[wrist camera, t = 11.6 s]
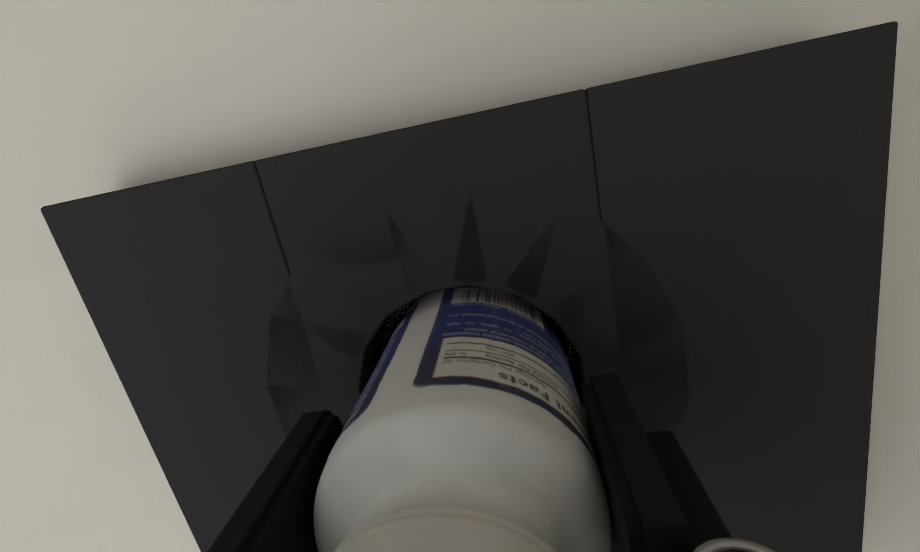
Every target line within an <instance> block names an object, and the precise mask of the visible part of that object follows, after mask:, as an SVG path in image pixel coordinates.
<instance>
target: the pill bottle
mask: <svg viewBox="0 0 920 552" xmlns="http://www.w3.org/2000/svg"><path fill="white" fill-rule="evenodd" d="M313 519H314V532H315V539H316V544H317V548H318V552H610V548H611V517H610V511H609V505H608V500H607V495H606V491H605V487H604V482H603V478H602V475H601V473H600V471H599V467H598V462H597V459H596V456H595V452H594V449H593V446H592V442H591V439H590V435H589V432H588V428H587V425H586V422H585V418H584V415H583V411H582V408H581V405H580V401H579V398H578V395H577V391H576V388H575V385H574V381H573V377H572V374H571V371H570V368H569V364H568V361H567V357H566V353H565V350H564V347H563V344H562V341H561V338H560V335H559V333H558V330H557V328H556V326H555V324H554V322H553V320H552V319H551V317H550V316H548V315H547V314H545V313H544V312H542V311H541V310H539V309H538V308H536V307H535V306H533V305H532V304H530V303H529V302H527V301H526V300H524V299H523V298H521V297H520V296H518V295H514V294H509V293H504V292H500V291H495V290H490V289H485V288H481V287H476V286H471V285H468V286H462V287H456V288H450V289H443V290H437V291H431V292H427V293H425V294H424V295H423V296H422V297H420V298H419V299H418V300H417V301H416V302H415V303H414V304H413V305H412V306H411V307H410V308H409V309H408V310H407V312H406V313H405V315H404V316H403V318H402V319H401V321H400V322H399V324H398V326H397V327H396V329H395V330H394V332H393V334H392V336H391V338H390V341H389V343H388V345H387V347H386V348H385V350H384V352H383V354H382V356H381V358H380V360H379V362H378V364H377V366H376V368H375V370H374V371H373V373H372V375H371V377H370V379H369V381H368V383H367V385H366V386H365V388H364V390H363V392H362V394H361V396H360V398H359V400H358V401H357V403H356V406H355V408H354V409H353V411H352V413H351V415H350V417H349V419H348V420H347V422H346V424H345V426H344V428H343V430H342V432H341V434H340V436H339V437H338V439H337V441H336V443H335V445H334V447H333V448H332V450H331V452H330V454H329V456H328V459H327V462H326V465H325V467H324V470H323V472H322V474H321V477H320V480H319V484H318V487H317V491H316V497H315V503H314V518H313Z"/></svg>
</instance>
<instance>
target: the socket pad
mask: <svg viewBox="0 0 920 552" xmlns="http://www.w3.org/2000/svg"><path fill="white" fill-rule="evenodd" d="M897 28H898V23H897V22H889V23H884V24H880V25H875V26H871V27H866V28H861V29H857V30H852V31H848V32H843V33H838V34H834V35H829V36H825V37H820V38H815V39H811V40H806V41H802V42H797V43H793V44H788V45H783V46H779V47H774V48H770V49H765V50H760V51H756V52H751V53H747V54H742V55H737V56H733V57H728V58H724V59H719V60H714V61H710V62H705V63H701V64H696V65H691V66H687V67H682V68H678V69H673V70H669V71H664V72H659V73H655V74H650V75H646V76H641V77H636V78H632V79H627V80H623V81H618V82H613V83H609V84H604V85H600V86H595V87H590V88H587V89H585V90H583V89H581V90H577V91H572V92H568V93H563V94H558V95H554V96H549V97H545V98H540V99H536V100H531V101H526V102H522V103H517V104H513V105H508V106H503V107H499V108H494V109H490V110H485V111H480V112H476V113H471V114H467V115H462V116H457V117H453V118H448V119H444V120H439V121H434V122H430V123H425V124H421V125H416V126H412V127H407V128H402V129H398V130H393V131H389V132H384V133H379V134H375V135H370V136H366V137H361V138H356V139H352V140H347V141H343V142H338V143H333V144H329V145H324V146H320V147H315V148H310V149H306V150H301V151H297V152H292V153H287V154H283V155H278V156H274V157H269V158H265V159H260V160H257V161H251V162H246V163H242V164H237V165H232V166H228V167H223V168H219V169H214V170H209V171H205V172H200V173H196V174H191V175H187V176H182V177H177V178H173V179H168V180H164V181H159V182H154V183H150V184H145V185H141V186H136V187H131V188H127V189H122V190H118V191H113V192H108V193H104V194H99V195H95V196H90V197H85V198H81V199H76V200H72V201H67V202H62V203H58V204H53V205H49V206H44V207H43V208H41V212H42V214H43V216H44V218H45V220H46V222H47V225H48V227H49V229H50V231H51V233H52V235H53V237H54V239H55V242H56V244H57V246H58V248H59V250H60V252H61V254H62V256H63V259H64V261H65V263H66V265H67V267H68V269H69V271H70V274H71V276H72V278H73V280H74V282H75V284H76V286H77V288H78V291H79V293H80V295H81V297H82V299H83V301H84V303H85V305H86V308H87V310H88V312H89V314H90V316H91V318H92V320H93V323H94V325H95V327H96V329H97V331H98V333H99V335H100V337H101V340H102V342H103V344H104V346H105V348H106V350H107V352H108V355H109V357H110V359H111V361H112V363H113V365H114V367H115V369H116V372H117V374H118V376H119V378H120V380H121V382H122V384H123V386H124V389H125V391H126V393H127V395H128V397H129V399H130V401H131V404H132V406H133V408H134V410H135V412H136V414H137V416H138V418H139V421H140V423H141V425H142V427H143V429H144V431H145V433H146V436H147V438H148V440H149V442H150V444H151V446H152V448H153V450H154V453H155V455H156V457H157V459H158V461H159V463H160V465H161V467H162V470H163V472H164V474H165V476H166V478H167V480H168V482H169V485H170V487H171V489H172V491H173V493H174V495H175V497H176V499H177V502H178V504H179V506H180V508H181V510H182V512H183V514H184V516H185V519H186V521H187V523H188V525H189V527H190V529H191V531H192V534H193V536H194V538H195V540H196V542H197V544H198V546H199V548H200V551H201V552H207V551H208V550H209V548H210V547H211V545H212V544H213V542H214V541H215V540H216V538H217V537H218V535H219V534H220V532H221V531H222V529H223V528H224V527H225V525H226V524H227V522H228V521H229V519H230V518H231V517H232V515H233V514H234V512H235V511H236V509H237V508H238V506H239V505H240V504H241V502H242V501H243V499H244V498H245V496H246V495H247V494H248V492H249V491H250V489H251V488H252V486H253V485H254V483H255V482H256V481H257V479H258V478H259V476H260V475H261V473H262V472H263V471H264V469H265V468H266V466H267V465H268V463H269V462H270V460H271V459H272V458H273V456H274V455H275V453H276V452H277V450H278V449H279V448H280V446H281V445H282V443H283V442H284V440H285V439H286V437H287V436H288V435H289V433H290V432H291V430H292V429H293V427H294V426H295V425H296V423H297V422H298V420H299V419H300V417H301V416H302V415H303V414H304V413H308V412H316V411H323V410H329V411H331V412H332V414H333V415H337V416H339V418H340V420H341V422H342V426H343V428H344V426H345V424H346V422H347V420H348V419H349V417H350V415H351V413H352V411H353V409H354V408H355V406H356V403H357V401H358V400H359V398H360V396H361V394H362V392H363V390H364V388H365V386H366V385H367V383H368V381H369V379H370V377H371V375H372V373H373V371H374V370H375V368H376V366H377V364H378V362H379V360H380V358H381V356H382V354H383V353H382V349H381V347H382V341H383V334H384V328H385V321H386V318H387V316H388V315H390V314H391V313H393V312H394V311H396V310H398V309H399V308H401V307H402V306H404V305H406V304H407V303H409V302H410V301H412V300H414V299H415V298H417V297H419V296H420V295H422V294H423V293H425V292H431V291H437V290H443V289H450V288H456V287H462V286H468V285H471V286H476V287H481V288H485V289H490V290H495V291H500V292H504V293H509V294H514V295H518V296H520V297H521V298H523V299H524V300H526V301H527V302H529V303H530V304H532V305H533V306H535V307H536V308H538V309H539V310H541V311H542V312H544V313H545V314H547V315H548V316H550V317H551V318H553V319H554V320H556V322H557V323H558V325H559V326H560V328H561V330H562V331H563V333H564V334H565V336H566V337H567V339H568V340H569V342H570V347H571V354H572V355H571V358H570V361H569V368H570V371H571V374H572V377H573V381H574V385H575V388H576V391H577V395H578V398H579V401H580V405H581V408H582V411H583V415H584V418H585V422H586V425H587V421H586V414H585V407H584V400H583V393H582V383H590V376H591V375H598V374H606V373H614V372H616V373H617V374H618V376H619V379H620V381H621V383H622V385H623V387H624V389H625V391H626V393H627V396H628V398H629V400H630V402H631V404H632V406H633V408H634V410H635V413H636V415H637V417H638V419H639V421H640V423H641V425H642V427H643V430H644V432H645V433H649V432H658V431H667V430H669V431H671V432H672V433H673V434H674V436H675V437H676V439H677V441H678V442H679V444H680V446H681V448H682V450H683V451H684V453H685V455H686V457H687V458H688V460H689V462H690V464H691V466H692V467H693V469H694V471H695V473H696V474H697V476H698V478H699V480H700V482H701V483H702V485H703V487H704V489H705V490H706V492H707V494H708V496H709V498H710V499H711V501H712V503H713V505H714V506H715V508H716V510H717V512H718V513H719V515H720V517H721V519H722V521H723V522H724V524H725V526H726V528H727V529H728V531H729V533H730V535H731V537H732V538H741V539H744V540H748V541H752V542H755V543H759V544H761V545H763V546H765V547H767V548H769V549H771V550H773V551H775V552H862V540H863V526H864V511H865V497H866V482H867V467H868V453H869V438H870V423H871V409H872V394H873V379H874V365H875V350H876V336H877V321H878V306H879V292H880V277H881V262H882V248H883V233H884V218H885V204H886V189H887V175H888V160H889V145H890V131H891V116H892V101H893V87H894V72H895V57H896V43H897ZM610 552H612V550H611V548H610Z"/></svg>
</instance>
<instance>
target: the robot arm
mask: <svg viewBox="0 0 920 552" xmlns="http://www.w3.org/2000/svg"><path fill="white" fill-rule="evenodd" d="M582 393H583V400H584V407H585V414H586V421H587V428H588V432H589V435H590V439H591V442H592V446H593V449H594V452H595V456H596V459H597V462H598V467H599V471H600V473H601V475H602V478H603V482H604V487H605V491H606V495H607V500H608V505H609V511H610V517H611V550H612V552H775V551H773V550H771V549H769V548H767V547H765V546H763V545H761V544H759V543H755V542H752V541H748V540H744V539H741V538H732V537H731V535H730V533H729V531H728V529H727V528H726V526H725V524H724V522H723V521H722V519H721V517H720V515H719V513H718V512H717V510H716V508H715V506H714V505H713V503H712V501H711V499H710V498H709V496H708V494H707V492H706V490H705V489H704V487H703V485H702V483H701V482H700V480H699V478H698V476H697V474H696V473H695V471H694V469H693V467H692V466H691V464H690V462H689V460H688V458H687V457H686V455H685V453H684V451H683V450H682V448H681V446H680V444H679V442H678V441H677V439H676V437H675V436H674V434H673V433H672V432H671V431H669V430H667V431H658V432H649V433H645V432H644V430H643V427H642V425H641V423H640V421H639V419H638V417H637V415H636V413H635V410H634V408H633V406H632V404H631V402H630V400H629V398H628V396H627V393H626V391H625V389H624V387H623V385H622V383H621V381H620V379H619V376H618V374H617V373H616V372H614V373H606V374H598V375H591V376H590V383H582ZM342 430H343V426H342V422H341V420H340V418H339V416H337V415H333V414H332V412H331V411H329V410H323V411H316V412H308V413H304V414H303V415H302V416H301V417H300V419H299V420H298V422H297V423H296V425H295V426H294V427H293V429H292V430H291V432H290V433H289V435H288V436H287V437H286V439H285V440H284V442H283V443H282V445H281V446H280V448H279V449H278V450H277V452H276V453H275V455H274V456H273V458H272V459H271V460H270V462H269V463H268V465H267V466H266V468H265V469H264V471H263V472H262V473H261V475H260V476H259V478H258V479H257V481H256V482H255V483H254V485H253V486H252V488H251V489H250V491H249V492H248V494H247V495H246V496H245V498H244V499H243V501H242V502H241V504H240V505H239V506H238V508H237V509H236V511H235V512H234V514H233V515H232V517H231V518H230V519H229V521H228V522H227V524H226V525H225V527H224V528H223V529H222V531H221V532H220V534H219V535H218V537H217V538H216V540H215V541H214V542H213V544H212V545H211V547H210V548H209V550H208V551H207V552H318V548H317V544H316V539H315V532H314V519H313V518H314V503H315V497H316V491H317V487H318V484H319V480H320V477H321V474H322V472H323V470H324V467H325V465H326V462H327V459H328V456H329V454H330V452H331V450H332V448H333V447H334V445H335V443H336V441H337V439H338V437H339V436H340V434H341V432H342Z"/></svg>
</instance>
